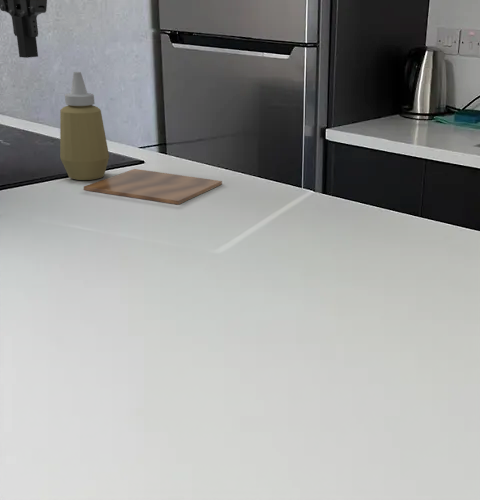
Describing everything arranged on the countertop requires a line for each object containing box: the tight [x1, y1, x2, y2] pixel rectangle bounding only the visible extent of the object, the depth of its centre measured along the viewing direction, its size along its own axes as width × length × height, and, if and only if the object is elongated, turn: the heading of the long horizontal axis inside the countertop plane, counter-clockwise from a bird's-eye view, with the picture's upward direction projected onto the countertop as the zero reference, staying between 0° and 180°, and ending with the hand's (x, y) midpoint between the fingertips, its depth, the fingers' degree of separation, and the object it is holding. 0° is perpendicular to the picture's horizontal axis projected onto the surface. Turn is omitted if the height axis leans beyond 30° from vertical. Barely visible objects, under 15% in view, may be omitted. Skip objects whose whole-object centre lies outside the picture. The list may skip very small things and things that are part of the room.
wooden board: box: [83, 168, 223, 205], centre depth 116 cm, size 18×14×1 cm
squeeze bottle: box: [59, 71, 110, 181], centre depth 117 cm, size 8×8×18 cm
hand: (28, 56), depth 116 cm, fingers closed
